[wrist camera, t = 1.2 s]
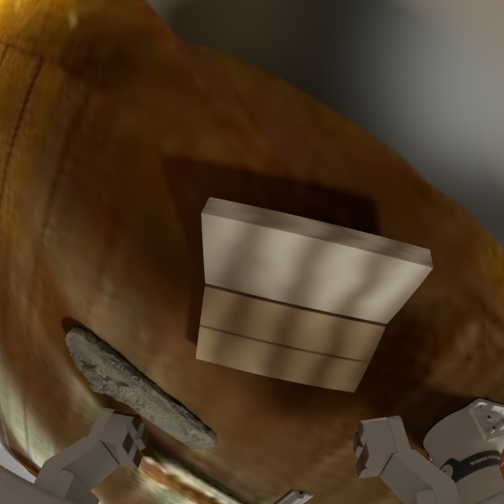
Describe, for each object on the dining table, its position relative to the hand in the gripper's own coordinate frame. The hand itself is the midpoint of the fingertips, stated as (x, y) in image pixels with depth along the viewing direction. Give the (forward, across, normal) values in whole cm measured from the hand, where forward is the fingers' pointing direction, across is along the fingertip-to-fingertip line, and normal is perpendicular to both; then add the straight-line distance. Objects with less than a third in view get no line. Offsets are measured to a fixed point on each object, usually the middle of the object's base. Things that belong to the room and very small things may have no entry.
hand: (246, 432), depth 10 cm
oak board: (+28, +2, -18) cm, 34 cm away
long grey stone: (+30, -24, -33) cm, 51 cm away
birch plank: (+26, +5, -5) cm, 27 cm away
